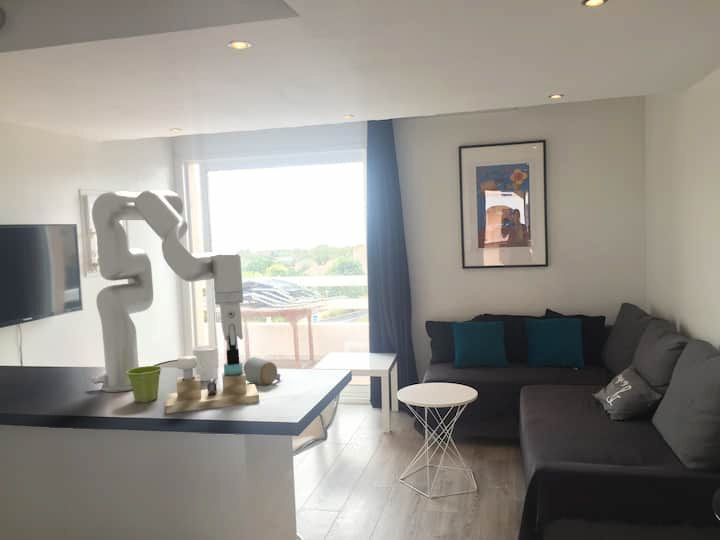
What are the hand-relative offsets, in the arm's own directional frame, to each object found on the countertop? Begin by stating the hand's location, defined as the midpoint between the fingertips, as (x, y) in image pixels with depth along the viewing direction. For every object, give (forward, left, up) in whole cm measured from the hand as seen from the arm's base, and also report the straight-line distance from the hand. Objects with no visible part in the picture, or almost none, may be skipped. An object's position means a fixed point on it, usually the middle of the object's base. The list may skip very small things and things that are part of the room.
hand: (233, 363), depth 160 cm
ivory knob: (-12, 0, -5) cm, 13 cm away
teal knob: (0, 0, -8) cm, 8 cm away
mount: (-6, 0, -10) cm, 12 cm away
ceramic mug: (+10, +15, -10) cm, 20 cm away
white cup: (-7, +27, -10) cm, 30 cm away
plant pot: (-24, +10, -10) cm, 28 cm away
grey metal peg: (-6, 0, -8) cm, 10 cm away
